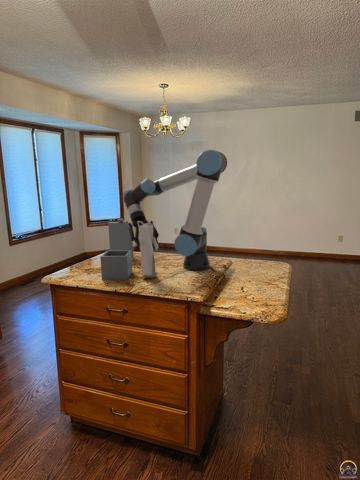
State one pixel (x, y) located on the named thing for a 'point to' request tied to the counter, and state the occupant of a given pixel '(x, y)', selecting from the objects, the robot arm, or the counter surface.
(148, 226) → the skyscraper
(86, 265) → the counter surface
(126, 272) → the grey open box
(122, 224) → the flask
